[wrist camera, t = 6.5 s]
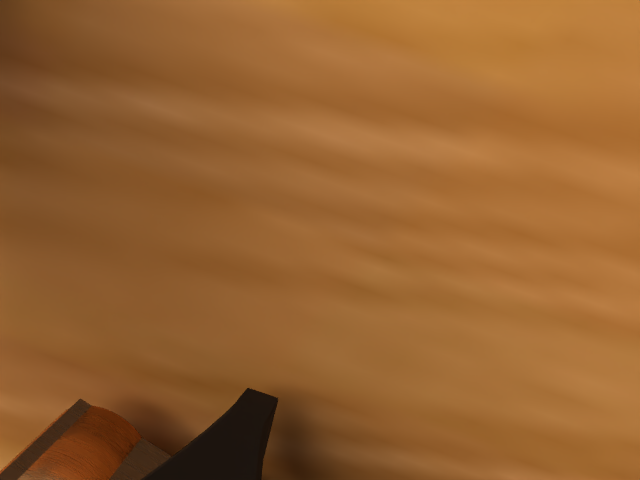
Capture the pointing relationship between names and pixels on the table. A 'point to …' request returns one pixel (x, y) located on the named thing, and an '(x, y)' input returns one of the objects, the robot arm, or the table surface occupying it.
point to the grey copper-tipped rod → (86, 449)
